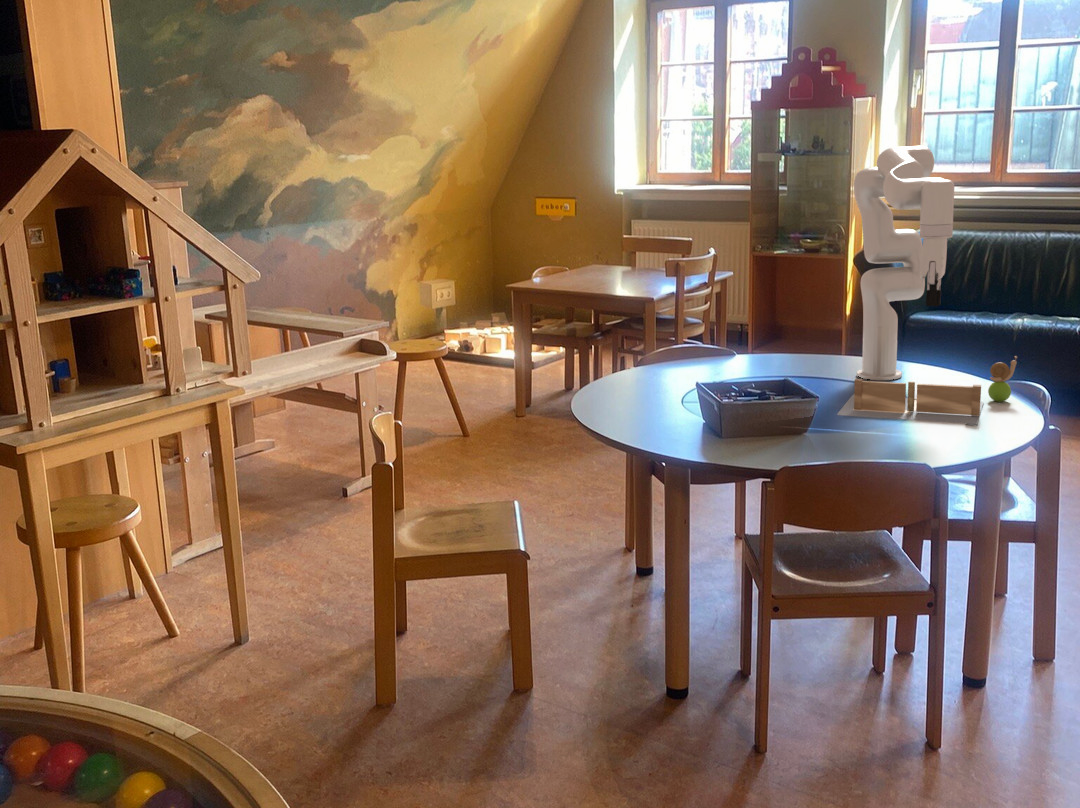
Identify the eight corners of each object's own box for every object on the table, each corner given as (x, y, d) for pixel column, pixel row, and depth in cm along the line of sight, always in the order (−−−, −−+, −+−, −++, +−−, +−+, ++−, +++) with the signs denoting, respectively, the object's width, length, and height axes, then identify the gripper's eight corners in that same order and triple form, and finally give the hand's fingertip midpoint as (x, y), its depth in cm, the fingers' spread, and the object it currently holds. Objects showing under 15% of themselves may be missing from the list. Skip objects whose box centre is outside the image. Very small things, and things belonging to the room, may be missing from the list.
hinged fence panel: (907, 409, 261) (908, 381, 260) (979, 414, 254) (981, 384, 252) (906, 411, 260) (907, 383, 258) (979, 415, 252) (980, 386, 250)
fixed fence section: (855, 407, 267) (855, 378, 265) (905, 411, 262) (906, 381, 260) (853, 409, 266) (854, 380, 264) (904, 412, 260) (905, 382, 258)
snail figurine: (1016, 404, 264) (1019, 358, 261) (990, 404, 265) (992, 358, 262) (1011, 398, 269) (1014, 353, 266) (985, 398, 270) (988, 354, 267)
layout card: (852, 395, 281) (852, 394, 281) (983, 403, 266) (983, 401, 266) (836, 416, 262) (836, 414, 262) (976, 425, 247) (976, 423, 247)
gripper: (923, 228, 259) (921, 300, 264) (915, 234, 246) (913, 310, 251) (955, 228, 256) (952, 301, 260) (949, 234, 243) (946, 311, 247)
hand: (933, 305), depth 255 cm, fingers closed
